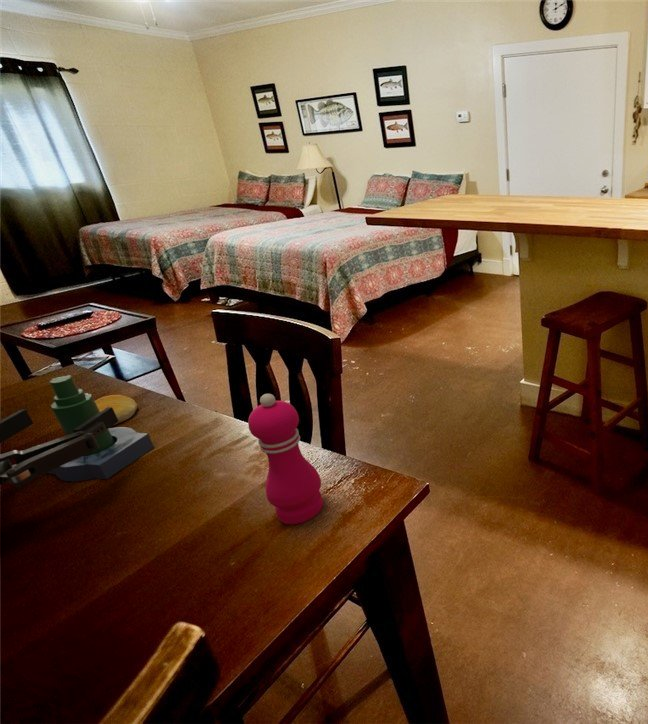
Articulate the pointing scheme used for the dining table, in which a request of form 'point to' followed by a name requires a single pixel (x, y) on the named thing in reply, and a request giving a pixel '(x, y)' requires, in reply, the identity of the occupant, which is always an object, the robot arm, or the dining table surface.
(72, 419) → the bottle
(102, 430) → the robot arm
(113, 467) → the hole board
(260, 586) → the dining table surface
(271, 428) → the pepper mill
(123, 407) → the bread roll
